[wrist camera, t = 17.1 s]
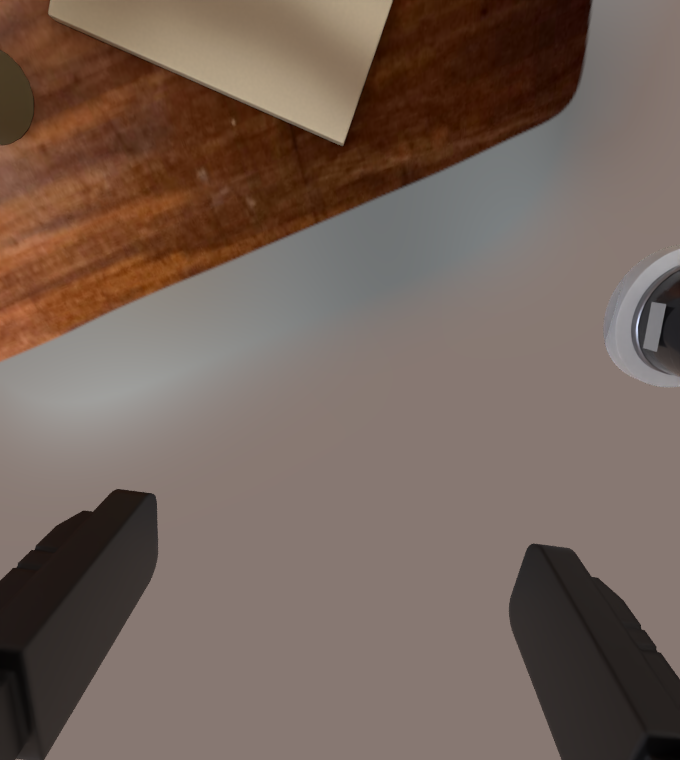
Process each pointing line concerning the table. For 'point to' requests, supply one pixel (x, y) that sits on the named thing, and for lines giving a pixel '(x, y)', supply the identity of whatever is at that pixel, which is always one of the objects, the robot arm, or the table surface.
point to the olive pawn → (14, 101)
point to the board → (250, 49)
